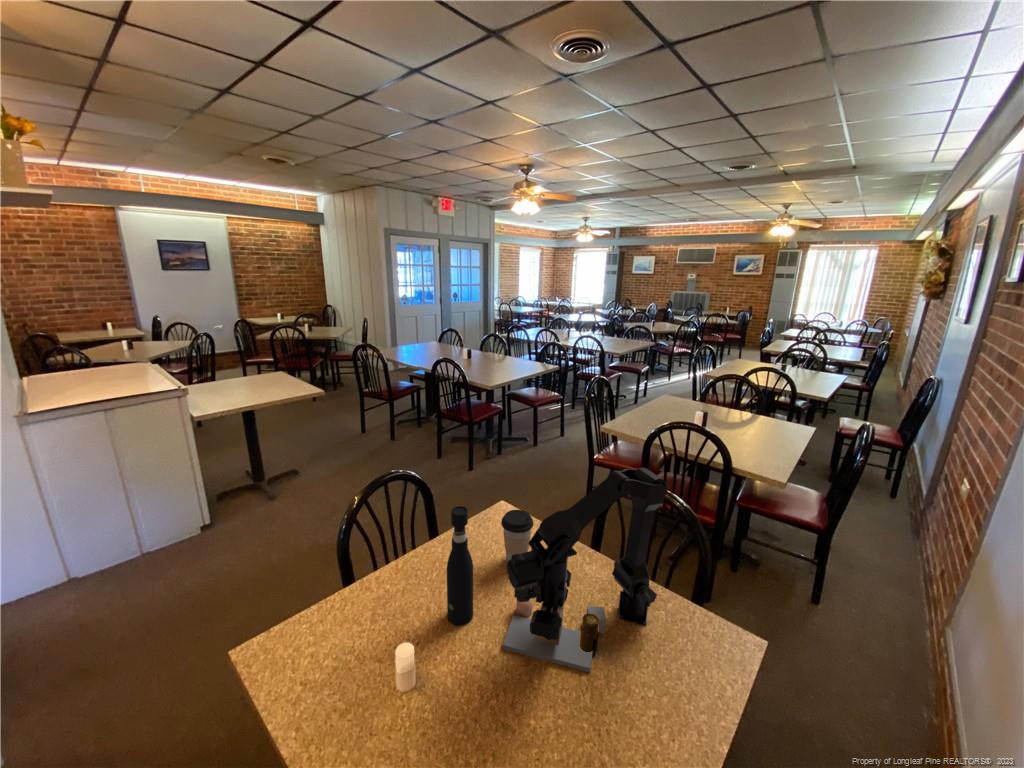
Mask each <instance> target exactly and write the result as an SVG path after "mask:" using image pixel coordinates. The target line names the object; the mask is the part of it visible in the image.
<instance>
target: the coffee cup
mask: <svg viewBox="0 0 1024 768" xmlns="http://www.w3.org/2000/svg"><path fill="white" fill-rule="evenodd" d="M500 524H501V527H502V528H503V542H504V548H505V557H506V559H505V560H506V564H507V563H508V561H509V560H510V559H512V555H514V554H521V553H525V552H529V548H530V545H529V544H528V543H529V541H530V540H531V538H532V529H533V527H534V520H533V517H532V516H531V514H530V513H529V512H528V511H525V510H522V509H512V510H509V511H507V512H505V513H504V516H503V517H502V518H501V522H500Z"/></svg>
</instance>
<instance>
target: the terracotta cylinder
mask: <svg viewBox="0 0 1024 768" xmlns="http://www.w3.org/2000/svg"><path fill="white" fill-rule="evenodd" d="M515 609H516V610H515V613H516V616H520V617H524V618H528V619H529V617H532V615H533V598H531V599H530V600H529V601H528V602H519V601H517V600H516V608H515Z"/></svg>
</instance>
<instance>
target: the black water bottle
mask: <svg viewBox="0 0 1024 768" xmlns="http://www.w3.org/2000/svg"><path fill="white" fill-rule="evenodd" d="M468 513H469V511H468V508H467V507H465V506H462V505H459V506H455V507H453V508H452V509H451V510H450V515H451V516H450V520H451V522H450V523H451V525H452V527H454V528H453V533H452V538H451V551H450V553H449V556H448V559H447V565H446V596H447V597H446V598H447V599H446V601H447V602H446V603H447V605H446V606H447V609H446V610H447V620H448V622H449V623H450V624H452V625H453V626H456V627H457V626H458V627H460V626H462V627H463V626H466V625H467V624H469V623H470V622H471V621H472V619H473V617H474V563H473V559H472V556H471V553H470V549H468V546H469V544H468V536H467V534H468V533H467V531H466V526H467V525H468V523H469V516H468V515H469V514H468Z"/></svg>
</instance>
